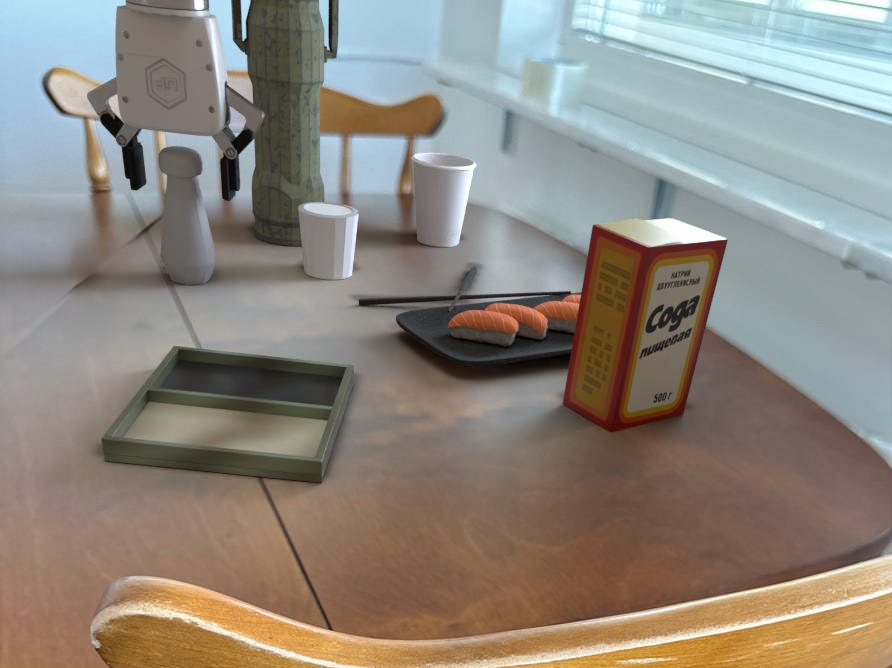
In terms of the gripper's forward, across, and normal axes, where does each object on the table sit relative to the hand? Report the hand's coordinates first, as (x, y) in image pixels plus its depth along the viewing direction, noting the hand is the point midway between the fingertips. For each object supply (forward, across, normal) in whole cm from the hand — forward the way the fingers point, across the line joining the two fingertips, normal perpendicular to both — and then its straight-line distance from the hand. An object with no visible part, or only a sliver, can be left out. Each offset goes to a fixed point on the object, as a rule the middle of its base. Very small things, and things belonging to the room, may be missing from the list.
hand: (184, 192), depth 97 cm
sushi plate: (+9, +34, -1) cm, 35 cm away
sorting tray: (+9, +13, -34) cm, 37 cm away
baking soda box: (+9, +46, -23) cm, 52 cm away
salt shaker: (+9, 0, 0) cm, 9 cm away
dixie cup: (+9, +26, +27) cm, 38 cm away
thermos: (+9, +7, +21) cm, 24 cm away
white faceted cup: (+9, +14, +8) cm, 18 cm away
